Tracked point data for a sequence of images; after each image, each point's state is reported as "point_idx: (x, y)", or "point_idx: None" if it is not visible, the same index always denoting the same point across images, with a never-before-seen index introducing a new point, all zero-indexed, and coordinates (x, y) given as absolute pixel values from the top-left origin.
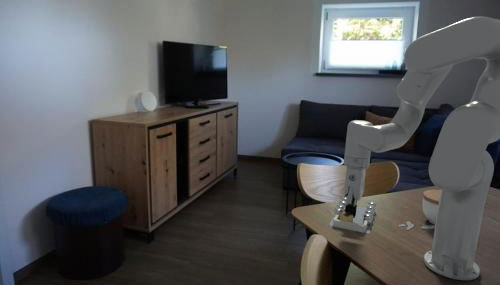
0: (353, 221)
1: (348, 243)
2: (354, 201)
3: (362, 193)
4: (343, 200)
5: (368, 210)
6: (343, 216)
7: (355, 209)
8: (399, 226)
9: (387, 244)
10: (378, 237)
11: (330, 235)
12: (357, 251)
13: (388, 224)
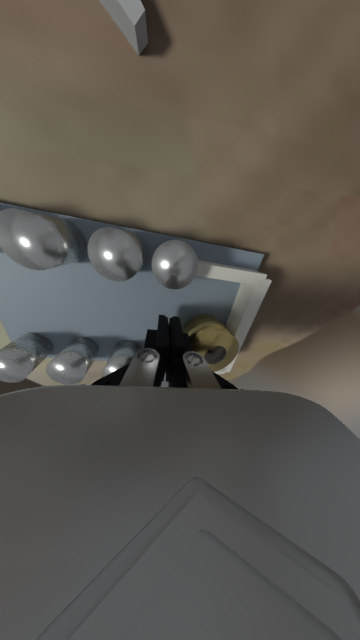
0: (169, 310)
1: (297, 313)
2: (217, 387)
3: (157, 412)
4: (31, 369)
5: (103, 261)
6: (225, 360)
7: (182, 337)
8: (138, 2)
9: (319, 171)
10: (258, 211)
11: (254, 352)
12: (344, 289)
13: (93, 125)
